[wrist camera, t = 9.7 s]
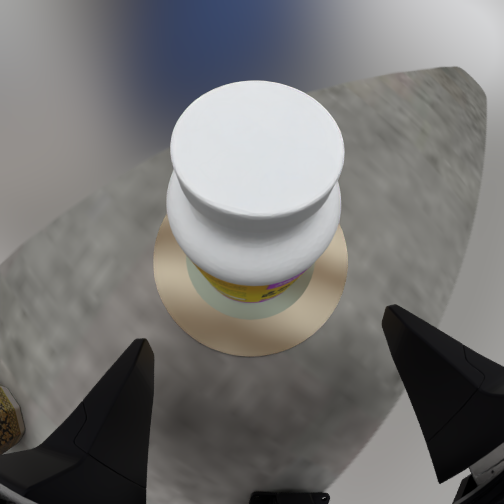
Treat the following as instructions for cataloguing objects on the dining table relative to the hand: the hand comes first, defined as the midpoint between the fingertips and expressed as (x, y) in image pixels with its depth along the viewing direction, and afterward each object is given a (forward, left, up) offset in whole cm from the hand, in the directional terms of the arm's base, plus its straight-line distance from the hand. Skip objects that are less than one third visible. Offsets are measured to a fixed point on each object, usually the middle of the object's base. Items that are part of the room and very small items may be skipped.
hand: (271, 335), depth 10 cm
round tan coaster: (+5, +1, -10) cm, 11 cm away
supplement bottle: (+5, +1, -9) cm, 10 cm away
